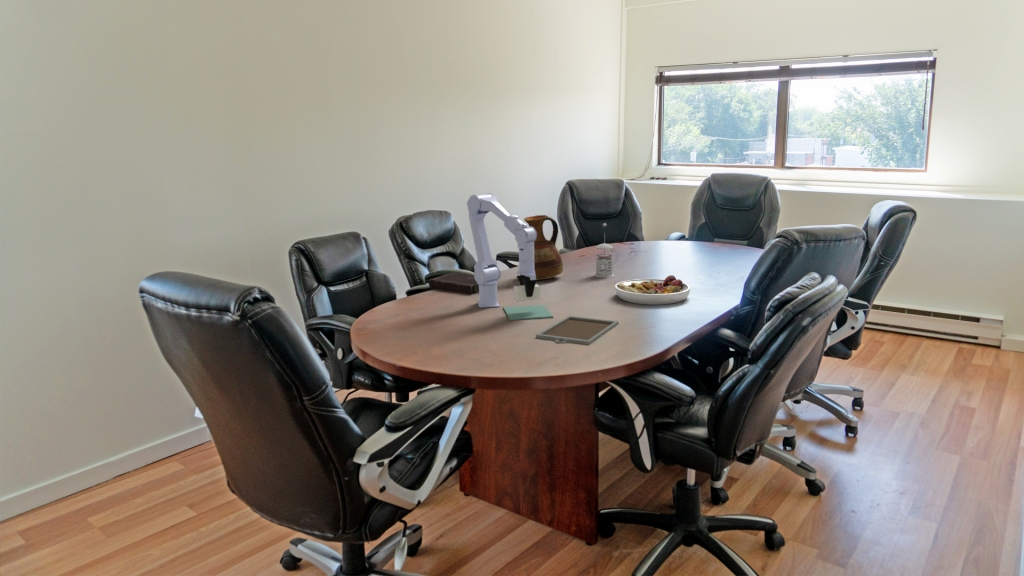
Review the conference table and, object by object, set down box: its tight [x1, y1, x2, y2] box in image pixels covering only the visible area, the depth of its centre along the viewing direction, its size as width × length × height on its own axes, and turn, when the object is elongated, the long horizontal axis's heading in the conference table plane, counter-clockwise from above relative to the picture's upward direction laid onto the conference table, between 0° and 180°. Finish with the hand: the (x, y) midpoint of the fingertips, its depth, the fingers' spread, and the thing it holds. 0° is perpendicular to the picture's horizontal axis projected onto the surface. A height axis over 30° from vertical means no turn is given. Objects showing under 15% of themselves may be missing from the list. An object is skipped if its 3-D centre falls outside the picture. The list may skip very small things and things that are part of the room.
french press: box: [593, 222, 619, 279], centre depth 325 cm, size 10×12×25 cm
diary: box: [428, 271, 479, 296], centre depth 307 cm, size 19×25×5 cm
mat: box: [503, 304, 554, 321], centre depth 260 cm, size 18×16×1 cm
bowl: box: [614, 274, 691, 306], centre depth 280 cm, size 30×30×8 cm
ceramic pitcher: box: [523, 214, 564, 281], centre depth 321 cm, size 20×20×30 cm
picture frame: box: [535, 315, 619, 346], centre depth 234 cm, size 19×2×30 cm
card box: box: [513, 283, 541, 302], centre depth 259 cm, size 9×4×5 cm, turn 108°
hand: (527, 295), depth 259 cm, fingers closed on card box, 4 cm apart
